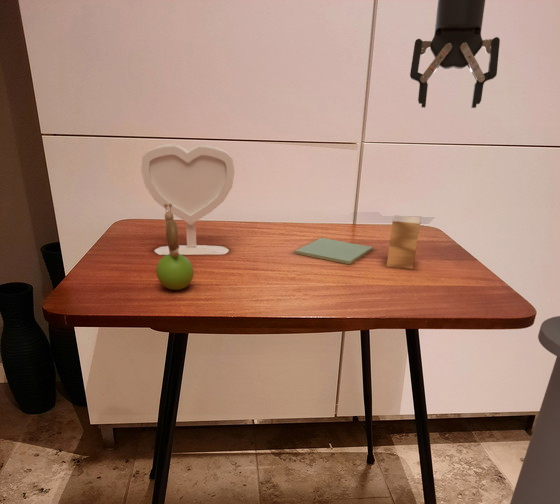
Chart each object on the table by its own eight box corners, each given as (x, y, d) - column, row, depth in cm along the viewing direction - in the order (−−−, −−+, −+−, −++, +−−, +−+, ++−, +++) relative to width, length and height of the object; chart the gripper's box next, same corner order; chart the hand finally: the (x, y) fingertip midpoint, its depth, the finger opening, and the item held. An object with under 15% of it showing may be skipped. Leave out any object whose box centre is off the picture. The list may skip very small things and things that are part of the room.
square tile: (372, 250, 105) (372, 246, 104) (349, 264, 96) (350, 261, 96) (321, 240, 109) (321, 237, 109) (295, 253, 101) (295, 250, 101)
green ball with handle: (189, 279, 87) (186, 202, 81) (196, 293, 81) (193, 212, 76) (155, 282, 85) (148, 203, 79) (160, 296, 80) (153, 213, 74)
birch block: (413, 261, 99) (420, 217, 95) (412, 269, 95) (420, 223, 91) (388, 259, 100) (394, 215, 96) (386, 266, 96) (392, 220, 92)
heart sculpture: (147, 254, 97) (138, 146, 88) (149, 246, 102) (141, 142, 93) (235, 254, 99) (234, 148, 90) (233, 246, 104) (232, 144, 95)
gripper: (417, -6, 88) (406, 106, 94) (510, -10, 85) (493, 106, 91) (417, 5, 95) (407, 108, 101) (504, 1, 91) (488, 108, 98)
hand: (448, 107), depth 96 cm, fingers open, 8 cm apart
